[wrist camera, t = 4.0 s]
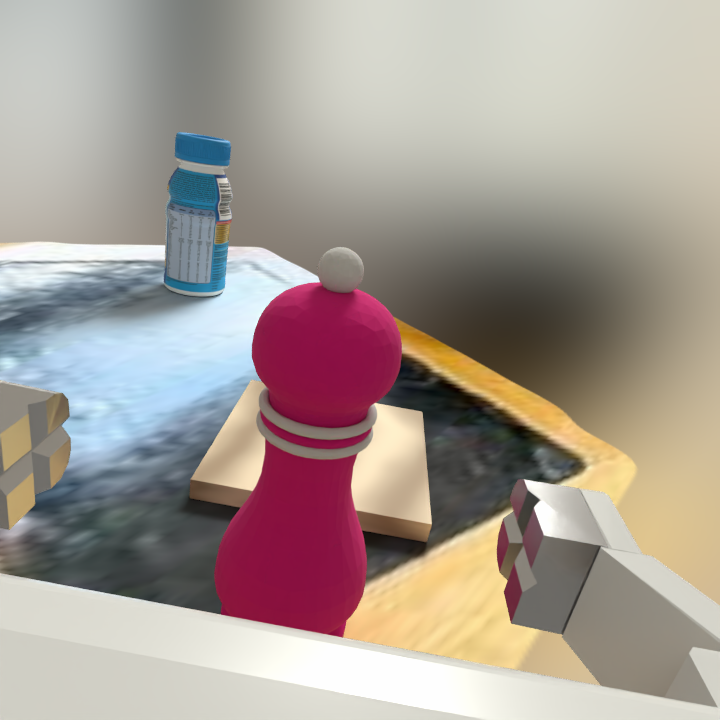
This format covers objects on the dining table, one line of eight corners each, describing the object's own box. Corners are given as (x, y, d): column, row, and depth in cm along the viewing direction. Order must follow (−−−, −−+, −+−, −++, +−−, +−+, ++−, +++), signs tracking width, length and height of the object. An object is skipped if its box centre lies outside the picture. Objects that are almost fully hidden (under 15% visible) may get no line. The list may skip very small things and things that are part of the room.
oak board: (189, 498, 37) (190, 479, 36) (249, 394, 51) (251, 379, 51) (426, 542, 37) (431, 524, 36) (418, 426, 52) (422, 411, 51)
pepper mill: (338, 717, 25) (439, 290, 17) (183, 678, 25) (216, 245, 18) (359, 596, 31) (439, 250, 24) (237, 567, 32) (277, 217, 24)
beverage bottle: (172, 298, 72) (180, 135, 64) (155, 279, 78) (160, 128, 71) (234, 298, 77) (248, 145, 69) (213, 279, 83) (224, 137, 75)
